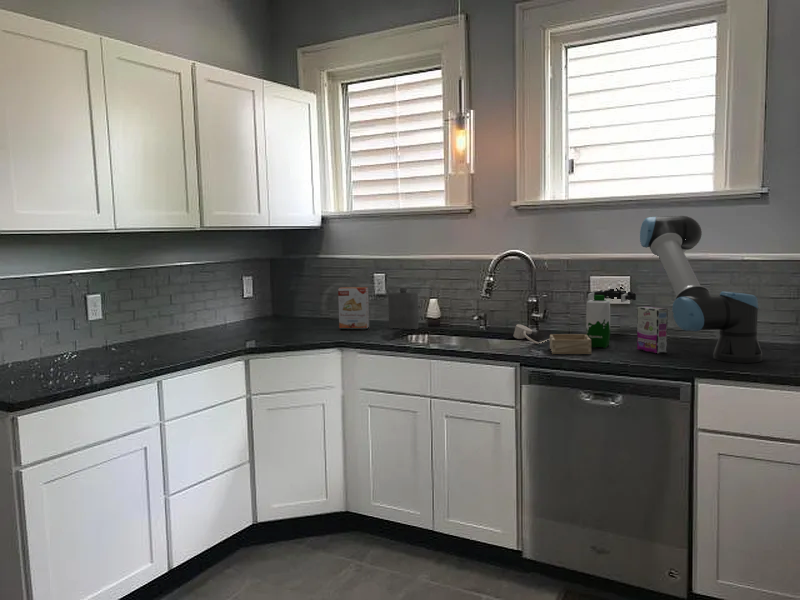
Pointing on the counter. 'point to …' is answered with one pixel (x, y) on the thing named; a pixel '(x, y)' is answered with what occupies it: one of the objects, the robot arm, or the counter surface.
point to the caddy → (570, 344)
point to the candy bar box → (652, 329)
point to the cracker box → (353, 307)
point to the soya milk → (598, 321)
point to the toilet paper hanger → (524, 333)
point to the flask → (403, 309)
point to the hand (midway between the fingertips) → (605, 298)
